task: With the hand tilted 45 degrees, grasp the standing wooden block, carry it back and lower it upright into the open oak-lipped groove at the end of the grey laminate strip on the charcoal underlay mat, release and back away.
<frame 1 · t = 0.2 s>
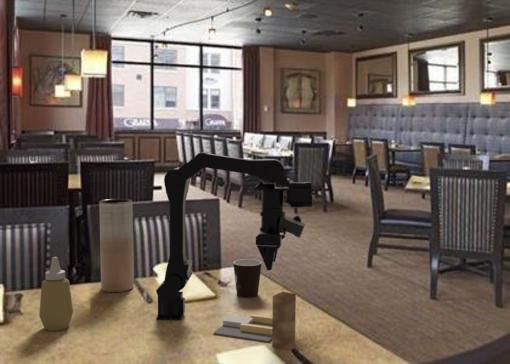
hand: (271, 265, 147), 14 cm above the table, tool pointing down, fingers open, 9 cm apart
vase: (117, 288, 175), on the table
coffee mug: (248, 293, 171), on the table
underlay: (262, 328, 140), on the table
squeeze bottle: (56, 328, 140), on the table
wooden block: (283, 345, 129), on the table
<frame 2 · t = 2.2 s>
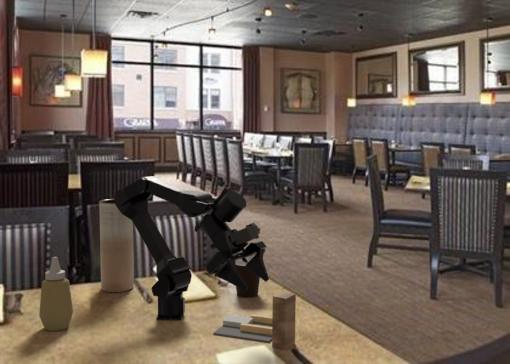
hand: (257, 284, 132), 13 cm above the table, tool tilted 45°, fingers open, 9 cm apart
nothing on the table moved.
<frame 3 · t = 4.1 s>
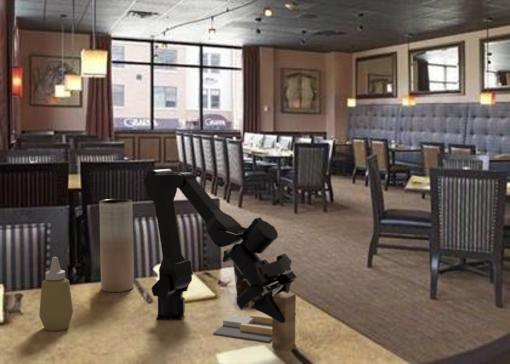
hand: (289, 318, 128), 7 cm above the table, tool tilted 45°, fingers closed on wooden block, 4 cm apart
wooden block: (283, 345, 129), on the table, touching gripper
everything else where it was.
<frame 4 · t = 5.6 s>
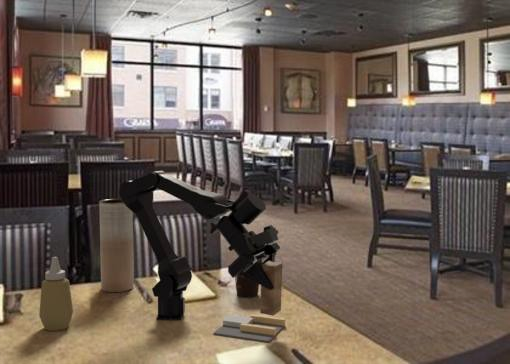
hand: (276, 286, 135), 12 cm above the table, tool tilted 45°, fingers closed on wooden block, 4 cm apart
wooden block: (270, 311, 136), point 6 cm above the table, touching gripper
everything else where it was.
when the fingers open (8 cm above the table, at t = 7.4 s): wooden block stays where it is, resting on underlay.
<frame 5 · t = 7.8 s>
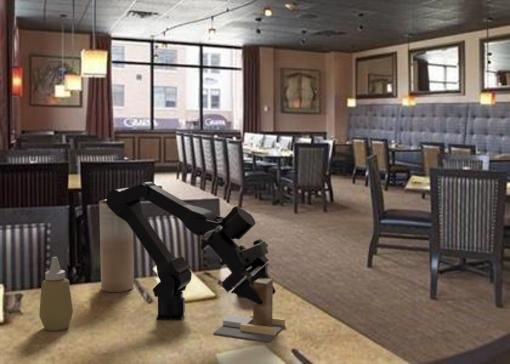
hand: (268, 298, 139), 8 cm above the table, tool tilted 45°, fingers open, 9 cm apart
wooden block: (262, 327, 140), resting on underlay
everything else where it was.
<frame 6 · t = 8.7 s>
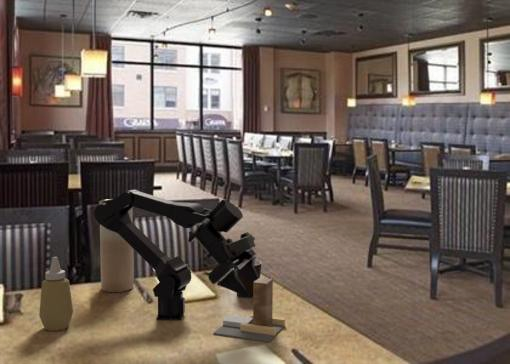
hand: (254, 291, 140), 9 cm above the table, tool tilted 45°, fingers open, 9 cm apart
nothing on the table moved.
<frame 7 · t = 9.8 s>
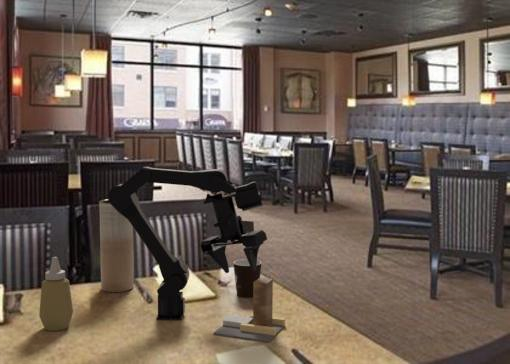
hand: (240, 271, 148), 12 cm above the table, tool tilted 15°, fingers open, 9 cm apart
nothing on the table moved.
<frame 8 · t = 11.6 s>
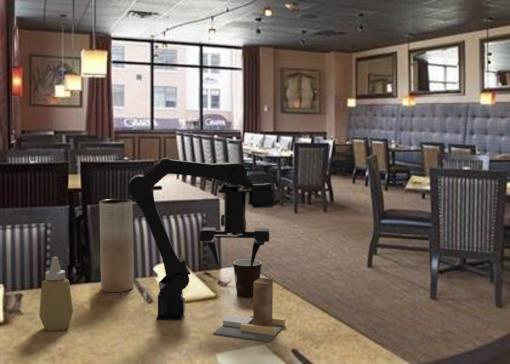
hand: (234, 265, 152), 13 cm above the table, tool pointing down, fingers open, 9 cm apart
nothing on the table moved.
at the end: wooden block 0.0 cm off-centre on the underlay, point 0.4 cm above the underlay's base; wooden block tilted 0°; the gripper is holding nothing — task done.
